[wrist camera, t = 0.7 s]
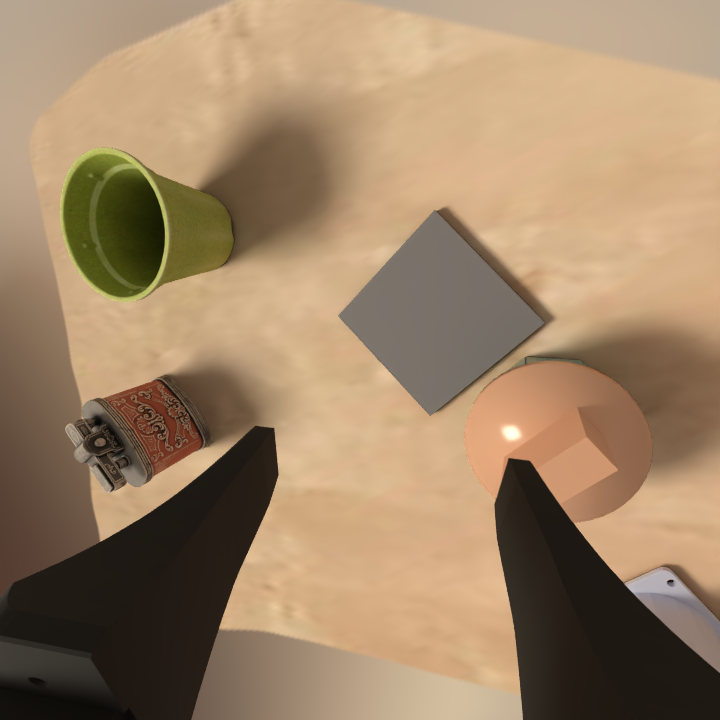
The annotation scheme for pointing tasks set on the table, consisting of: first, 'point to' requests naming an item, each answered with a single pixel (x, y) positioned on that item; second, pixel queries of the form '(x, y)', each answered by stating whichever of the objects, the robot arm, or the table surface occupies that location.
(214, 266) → the plant pot
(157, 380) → the lighter
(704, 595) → the table surface
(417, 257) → the mat
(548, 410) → the lid
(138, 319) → the table surface
